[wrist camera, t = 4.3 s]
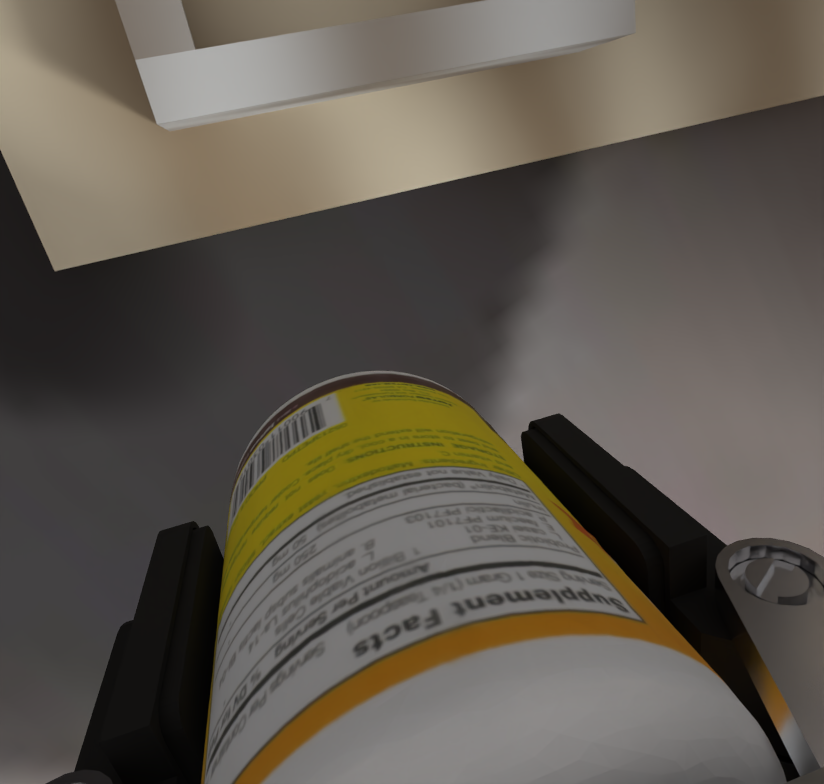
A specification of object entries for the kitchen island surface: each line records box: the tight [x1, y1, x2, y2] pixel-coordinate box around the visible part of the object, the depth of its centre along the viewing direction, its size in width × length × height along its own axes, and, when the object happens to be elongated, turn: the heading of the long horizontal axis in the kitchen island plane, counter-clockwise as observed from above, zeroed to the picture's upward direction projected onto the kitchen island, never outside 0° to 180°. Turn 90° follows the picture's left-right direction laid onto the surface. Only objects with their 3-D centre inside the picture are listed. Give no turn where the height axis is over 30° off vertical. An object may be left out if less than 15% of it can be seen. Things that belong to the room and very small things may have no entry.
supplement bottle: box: [201, 371, 787, 784], centre depth 8 cm, size 6×6×10 cm
